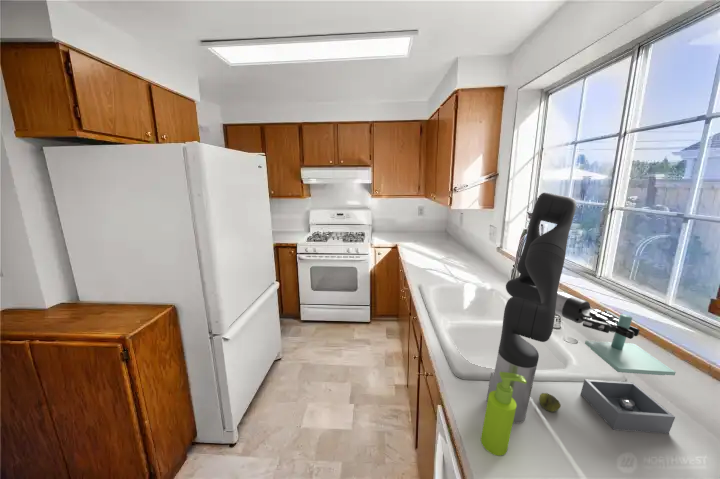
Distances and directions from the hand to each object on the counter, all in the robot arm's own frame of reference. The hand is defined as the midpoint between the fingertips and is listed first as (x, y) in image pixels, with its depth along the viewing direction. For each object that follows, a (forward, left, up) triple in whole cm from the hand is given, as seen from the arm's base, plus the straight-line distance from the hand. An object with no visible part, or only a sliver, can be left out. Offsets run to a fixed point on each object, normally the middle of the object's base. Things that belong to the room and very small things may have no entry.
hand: (635, 334), depth 78 cm
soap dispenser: (-41, -16, -23) cm, 50 cm away
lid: (-1, -1, -8) cm, 8 cm away
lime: (-22, -4, -23) cm, 32 cm away
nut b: (+1, -2, -22) cm, 22 cm away
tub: (-2, -4, -23) cm, 23 cm away
